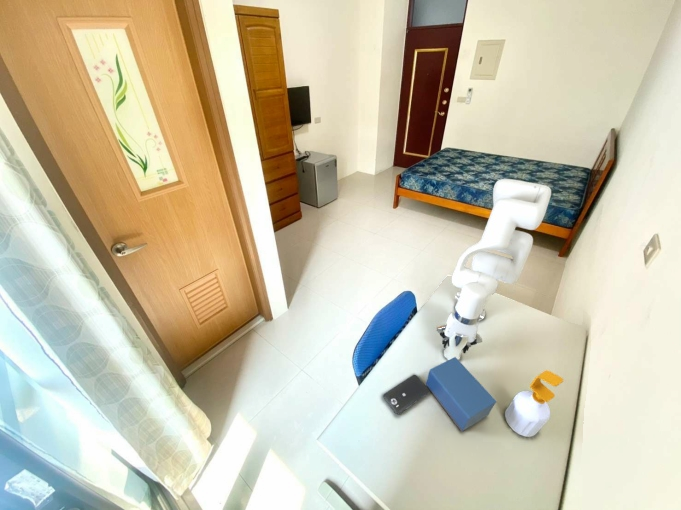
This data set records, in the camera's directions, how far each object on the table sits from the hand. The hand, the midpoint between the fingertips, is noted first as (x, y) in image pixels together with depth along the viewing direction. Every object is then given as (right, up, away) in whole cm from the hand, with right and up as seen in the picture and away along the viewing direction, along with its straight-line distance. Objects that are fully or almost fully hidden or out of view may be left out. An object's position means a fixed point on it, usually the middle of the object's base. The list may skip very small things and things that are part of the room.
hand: (454, 347), depth 106 cm
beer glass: (0, -4, +3) cm, 5 cm away
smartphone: (-21, -13, -10) cm, 26 cm away
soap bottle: (+14, -18, -17) cm, 28 cm away
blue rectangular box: (-5, -14, -12) cm, 19 cm away
